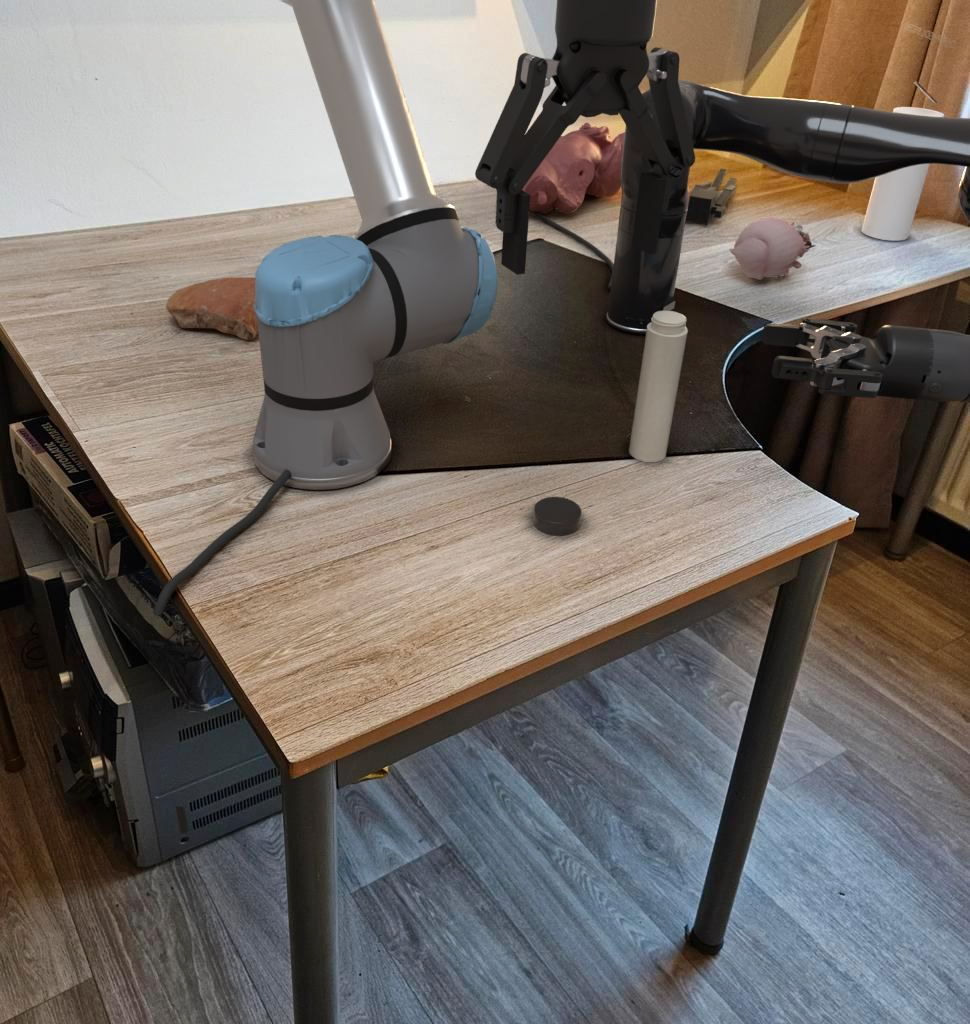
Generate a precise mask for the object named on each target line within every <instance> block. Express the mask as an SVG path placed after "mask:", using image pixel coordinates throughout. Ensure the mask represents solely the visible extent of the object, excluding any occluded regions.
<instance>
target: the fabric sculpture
mask: <svg viewBox="0 0 970 1024" xmlns="http://www.w3.org/2000/svg"><path fill="white" fill-rule="evenodd" d="M610 130H611V129H610V127H608V126H607V125H605V126H604V125H602V126H600V127H598V126H592V125H591V124H590V123H589V122H585V123H584V124H581V126H580V127H579V129H576V130H573V131H570V132H568V133H566V134H565V135H561V136H560V138H559V139H558V141H557V142H556V143H555V145H554V146H553V147H552V149H551V150H550V152H549V153H548V154H547V156H546V157H545V159H544V160H543V161H542V163H541V164H540V165H539V167H538V168H537V170H536V171H535V172H534V174H533V175H532V176H531V178H530V179H529V181H528V182H527V183H526V185H525V186H524V187H523V189H522V190H523V191H524V192H526V193H528V194H530V207H529V210H530V211H533V212H538V213H540V214H546V213H549V212H551V211H552V210H553V209H554V208H555V209H556V210H557V211H559V212H560V213H564V214H569V213H573V212H575V211H578V209H579V208H581V206H582V203H584V199H585V195H591V196H593V197H596V198H599V197H604V198H606V197H608V198H610V197H613V196H614V195H617V194H618V192H619V191H620V189H621V167H622V156H623V145H624V136H625V131H624V132H621V133H618V135H617V136H615V137H614V138H612V137H611V136H610V135H609V134H610Z"/></svg>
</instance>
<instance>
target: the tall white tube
mask: <svg viewBox="0 0 970 1024" xmlns="http://www.w3.org/2000/svg"><path fill="white" fill-rule="evenodd" d="M904 30H905V31H907V32H910V33H912V32H913V34H915V33H916V34H917V35H918V36H921V37H923V38H924V37H925V39H928V40H930V41H931V40H932V41H933V42H937V40H938V44H939V43H940V44H942V45H943V46H946V47H947V48H948V47H949V49H950V48H951V49H952V50H953V49H954V48H955V45H956V40H954V39H951V38H948V37H946V36H942V37H941V34H938V35H937V33H934V32H933V31H931V30H926V29H923V34H921V31H922V27H920V26H918V25H915V24H912V23H909V22H908V21H907V22H905V26H904ZM927 33H928V35H927ZM940 37H941V38H940ZM940 39H941V42H940ZM945 39H946V40H945ZM944 42H945V43H944ZM952 43H954V44H953V46H952ZM913 84H914V85H915V86H916V87H917V88H919V90H920V91H921V92H922V95H923V96H924V97H926V98H928V99H929V100H930V101H931V102H932V103H934V104H937V103H938V101H937V100H936V99H935V98H934V97H932V95H931V94H930V93H929V92H928V91H927V90H926V89H925V88H924V87H923V86H922V85H921V84H920V83H919V82H918V81H915V80H914V82H913ZM892 112H895V113H903V114H912V115H921V116H932V117H945V114H944V113H943V112H940V111H937V110H936V109H935V110H934V109H929V108H924V107H915V106H914V107H913V106H897V107H894V108H893V110H892ZM930 165H931V164H921V165H915V166H910V167H906V168H903V169H899V170H896V171H893V172H890V173H887V174H884V175H881V176H878V177H875V178H874V182H873V185H872V189H871V193H870V196H869V201H868V203H867V208H866V212H865V215H864V220H863V222H862V227H861V232H862V233H863V234H864V235H866V236H868V237H871V238H873V239H878V240H884V241H893V242H895V241H897V242H898V241H899V242H900V241H905V240H907V239H909V236H910V233H911V229H912V226H913V222H914V219H915V215H916V211H917V210H918V209H917V208H918V206H919V202H920V198H921V195H922V191H923V188H924V184H925V182H926V178H927V175H928V171H929V169H930Z"/></svg>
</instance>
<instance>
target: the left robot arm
mask: <svg viewBox="0 0 970 1024" xmlns="http://www.w3.org/2000/svg"><path fill="white" fill-rule="evenodd" d="M279 1H280V2H282V3H284V4H285V5H288V6H289V7H291V8H292V10H293V13H294V16H295V20H296V22H297V25H298V28H299V31H300V35H301V37H302V41H303V43H304V46H305V50H306V53H307V56H308V60H309V63H310V65H311V68H312V71H313V75H314V78H315V80H316V84H317V87H318V90H319V92H320V96H321V99H322V102H323V105H324V108H325V111H326V114H327V117H328V121H329V123H330V126H331V129H332V132H333V136H334V138H335V142H336V145H337V148H338V151H339V154H340V157H341V160H342V163H343V166H344V169H345V172H346V175H347V179H348V182H349V185H350V187H351V191H352V194H353V197H354V200H355V203H356V206H357V209H358V212H359V215H360V219H361V224H360V225H359V228H358V230H357V232H356V234H355V236H354V237H352V236H349V235H341V234H340V235H339V234H331V235H328V236H324V237H323V236H322V235H314V236H313V235H312V236H307V237H302V238H299V239H294V240H291V241H289V242H286V243H284V244H281V245H279V246H277V247H276V248H274V249H272V250H270V251H269V252H268V253H267V254H266V255H265V256H264V257H263V258H262V260H261V262H260V263H259V265H258V266H257V268H256V271H255V274H254V275H255V277H254V278H255V304H254V307H255V312H256V315H257V322H258V331H259V332H258V340H259V349H260V359H261V369H262V378H263V388H264V390H263V391H264V396H263V400H262V404H261V408H260V412H259V415H258V419H257V423H256V427H255V430H254V434H253V439H252V441H253V442H252V455H253V460H254V464H255V467H256V468H257V470H258V471H259V472H260V473H261V474H262V475H263V476H265V477H266V478H268V479H269V480H271V481H273V484H272V485H271V486H270V487H269V488H268V489H267V491H266V492H265V493H264V495H263V496H262V497H261V499H260V500H259V502H257V504H256V506H254V508H253V509H252V510H251V511H250V512H249V513H248V514H247V515H246V516H244V517H243V518H242V519H241V520H239V521H238V522H236V523H235V524H233V525H232V526H230V527H229V528H228V529H227V530H225V531H224V532H223V533H222V534H220V535H219V536H218V537H217V538H216V539H214V540H213V541H212V542H211V543H210V544H209V545H208V546H207V547H206V548H205V549H203V551H201V553H200V554H198V555H197V557H196V558H195V559H193V560H192V561H191V562H190V563H189V564H188V565H187V566H185V568H183V569H182V570H181V571H179V572H177V574H175V575H174V576H173V577H171V578H170V580H168V582H167V583H166V584H165V585H164V587H163V588H162V590H161V591H160V593H159V595H158V598H157V599H156V603H155V605H154V608H153V612H152V613H153V615H154V616H155V617H157V616H159V617H160V616H161V615H163V614H164V613H165V611H166V608H167V606H168V603H169V601H170V598H171V596H172V595H173V594H174V591H175V590H176V589H177V588H178V586H180V585H181V584H183V582H185V581H186V580H188V579H189V578H190V577H192V576H193V575H194V574H196V572H197V571H198V570H199V569H200V568H201V567H202V566H203V565H204V564H205V563H206V562H207V561H208V560H209V559H210V558H211V557H213V555H214V554H215V553H216V552H217V551H218V550H220V549H221V548H222V547H223V546H224V545H225V544H227V542H229V541H231V539H232V538H234V537H235V536H236V535H238V534H239V533H241V532H242V531H244V530H245V529H246V528H247V527H249V526H250V525H251V524H252V523H254V522H255V521H256V520H257V519H258V518H259V517H260V515H262V513H263V512H264V511H265V510H266V509H267V507H268V506H269V505H270V503H271V502H272V500H273V499H274V498H275V496H276V495H277V494H278V492H279V491H280V490H281V489H282V488H283V486H286V487H290V488H295V489H301V490H312V491H314V490H315V491H323V490H327V491H328V490H337V489H342V488H348V487H351V486H355V485H358V484H361V483H363V482H366V481H368V480H370V479H373V478H374V477H375V476H377V475H378V474H380V473H381V472H382V471H383V470H384V469H385V468H386V467H387V466H388V464H389V463H390V461H391V458H392V438H391V432H390V430H391V427H390V426H389V424H388V422H387V420H386V419H385V417H384V413H383V411H382V408H381V406H380V403H379V400H378V398H377V395H376V393H375V385H374V364H375V362H377V361H381V360H384V359H388V358H392V357H395V356H400V355H402V354H406V353H410V352H414V351H418V350H421V349H425V348H426V349H427V348H429V347H433V346H437V345H441V344H442V345H447V344H451V343H454V342H455V341H458V339H461V338H464V337H467V336H470V335H473V334H475V333H477V332H478V331H480V330H481V329H482V328H483V327H484V326H485V325H486V324H487V322H488V321H489V319H490V318H491V316H492V313H493V310H494V305H495V303H496V301H497V294H498V268H497V264H496V259H495V256H494V253H493V250H492V248H491V246H490V244H489V242H488V241H487V239H486V238H484V237H482V234H481V233H480V232H478V231H477V230H475V229H472V228H469V227H462V225H461V222H460V220H459V216H458V212H457V210H456V208H455V206H454V205H452V204H450V203H449V202H447V201H445V200H443V199H441V198H440V197H438V195H437V193H436V191H435V187H434V184H433V180H432V177H431V174H430V170H429V168H428V165H427V162H426V159H425V156H424V152H423V149H422V146H421V143H420V139H419V136H418V133H417V130H416V128H415V124H414V121H413V118H412V115H411V112H410V109H409V106H408V102H407V98H406V96H405V93H404V90H403V87H402V84H401V81H400V77H399V74H398V71H397V68H396V63H395V61H394V59H393V55H392V53H391V49H390V45H389V43H388V40H387V36H386V33H385V31H384V27H383V24H382V20H381V18H380V14H379V11H378V9H377V5H376V2H375V0H279ZM657 5H658V0H556V9H555V10H556V11H555V22H554V33H555V37H556V47H555V51H554V54H553V56H552V57H551V58H547V57H540V56H537V55H533V54H531V53H529V52H522V53H521V54H520V55H519V56H518V57H517V58H518V59H517V63H516V70H515V77H514V82H513V86H512V89H511V91H510V93H509V95H508V97H507V100H506V102H505V104H504V106H503V108H502V111H501V113H500V115H499V118H498V120H497V122H496V124H495V126H494V128H493V131H492V133H491V135H490V137H489V139H488V142H487V144H486V146H485V149H484V151H483V154H482V156H481V158H480V160H479V162H478V165H477V167H476V169H475V172H474V175H475V178H476V180H478V181H479V182H481V183H483V184H484V185H486V186H488V187H490V188H492V189H495V190H496V191H495V192H496V203H495V204H496V205H495V210H496V211H495V226H496V229H497V230H499V231H501V232H502V242H501V243H502V244H501V259H500V261H501V262H500V265H502V266H503V267H505V268H506V269H508V270H509V271H511V272H513V273H514V274H515V275H525V274H526V262H527V249H528V236H529V235H528V234H529V221H530V220H529V219H530V212H529V207H530V194H528V193H526V192H524V191H523V190H522V189H523V187H524V186H525V185H526V183H527V182H528V181H529V179H530V178H531V176H532V175H533V174H534V172H535V171H536V170H537V168H538V167H539V165H540V164H541V163H542V161H543V160H544V159H545V157H546V156H547V154H548V153H549V152H550V150H551V149H552V147H553V146H554V145H555V143H556V142H557V141H558V139H559V138H560V136H563V134H564V132H565V131H566V130H567V128H568V127H569V126H571V125H574V124H576V122H577V120H579V118H580V116H581V117H584V118H595V117H597V116H600V115H602V114H603V115H607V116H611V117H612V116H620V118H621V119H622V121H623V122H624V124H625V127H626V126H627V128H628V129H629V131H630V133H631V135H632V137H633V138H634V140H635V142H636V144H637V145H638V147H639V149H640V151H641V152H642V154H643V156H644V158H645V159H646V161H647V163H648V165H649V166H650V168H651V169H652V172H649V171H643V172H641V175H640V183H639V191H638V198H637V206H636V213H635V221H634V228H633V236H632V244H631V245H632V246H634V247H636V248H638V249H640V250H642V251H644V252H646V253H647V254H655V253H656V249H657V242H658V236H659V229H660V222H661V215H662V213H663V212H666V210H667V208H668V204H669V198H670V191H671V184H672V178H673V179H679V178H680V177H681V176H682V174H683V167H690V168H691V167H693V166H694V164H695V163H696V154H695V149H693V145H692V140H691V136H690V131H689V127H688V123H687V118H686V114H685V109H684V105H683V101H682V96H681V92H680V87H679V83H678V79H679V77H680V76H679V74H680V72H679V71H680V60H681V59H680V54H679V53H678V52H676V51H672V50H669V49H666V48H661V47H657V46H655V47H653V48H652V49H651V50H650V52H648V50H647V49H648V48H647V46H648V43H649V42H650V41H651V40H652V38H653V36H654V29H655V21H656V13H657V7H658V6H657ZM645 77H646V78H647V79H648V86H649V88H650V90H651V94H652V98H653V102H654V106H655V110H656V114H657V118H658V122H659V126H660V130H661V134H662V136H661V134H660V132H659V130H658V128H657V127H656V125H655V123H654V121H653V119H652V117H651V116H650V114H649V112H648V108H649V107H648V104H647V102H646V101H645V99H644V97H643V95H642V93H643V92H642V91H641V89H640V88H639V86H640V85H641V83H642V82H643V80H644V79H645ZM551 79H552V80H553V82H554V84H555V86H554V88H553V89H552V91H551V92H550V93H549V94H548V96H547V97H546V99H545V100H544V102H543V103H542V110H541V112H540V113H539V115H537V117H536V119H535V120H534V121H533V123H531V122H532V120H533V118H534V115H535V114H536V112H537V109H538V107H539V105H540V102H541V100H542V97H543V93H544V91H545V88H546V87H549V86H550V85H551ZM564 104H565V105H564ZM530 124H531V125H530ZM529 126H530V127H529ZM174 808H175V811H176V812H175V814H176V817H177V818H176V819H177V825H178V830H179V833H180V834H186V833H188V832H189V824H188V818H187V812H186V807H185V806H178V805H175V806H174Z"/></svg>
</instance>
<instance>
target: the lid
mask: <svg viewBox="0 0 970 1024" xmlns="http://www.w3.org/2000/svg"><path fill="white" fill-rule="evenodd" d="M581 520H582V508H581V506H580V505H579V504H578V503H577V502H576V501H574V500H572V499H570V498H566V497H561V496H549V497H544V498H542V499H539V500H538V501H537V502H536V503H535V504H534V507H533V517H532V522H533V524H534V526H535V528H536V529H538V530H539V531H540V532H542V533H545V534H548V535H550V536H567V535H571V534H574V533H575V532H577V531H578V530H579V528H580V526H581Z"/></svg>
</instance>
